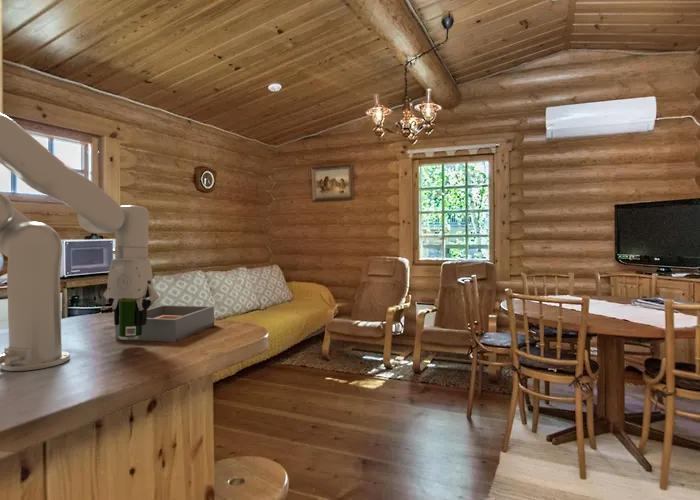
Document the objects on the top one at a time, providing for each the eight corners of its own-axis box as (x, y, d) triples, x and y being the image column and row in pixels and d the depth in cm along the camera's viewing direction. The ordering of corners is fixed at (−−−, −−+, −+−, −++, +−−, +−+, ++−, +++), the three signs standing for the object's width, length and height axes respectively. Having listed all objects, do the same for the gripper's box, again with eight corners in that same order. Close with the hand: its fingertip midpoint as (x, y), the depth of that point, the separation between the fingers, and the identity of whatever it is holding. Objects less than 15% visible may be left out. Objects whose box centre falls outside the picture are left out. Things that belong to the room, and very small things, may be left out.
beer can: (144, 338, 111) (145, 291, 111) (120, 340, 107) (121, 292, 107) (138, 334, 115) (139, 289, 115) (116, 337, 111) (117, 290, 111)
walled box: (175, 341, 116) (175, 319, 116) (115, 339, 119) (115, 317, 119) (214, 325, 138) (213, 306, 138) (162, 323, 141) (162, 305, 141)
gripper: (90, 253, 108) (89, 325, 109) (153, 255, 106) (151, 329, 106) (111, 253, 116) (110, 320, 116) (170, 254, 113) (169, 324, 113)
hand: (130, 324), depth 111 cm, fingers closed on beer can, 5 cm apart
